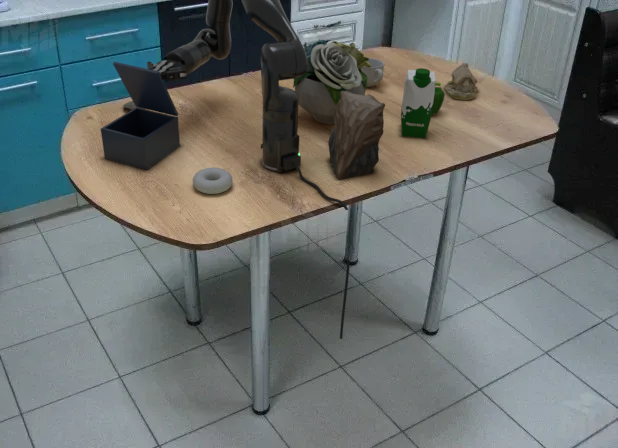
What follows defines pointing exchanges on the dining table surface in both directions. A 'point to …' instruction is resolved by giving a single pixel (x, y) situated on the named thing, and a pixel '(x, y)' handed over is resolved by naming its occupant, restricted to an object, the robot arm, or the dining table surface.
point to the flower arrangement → (330, 77)
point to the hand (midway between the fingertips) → (147, 80)
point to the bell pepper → (437, 99)
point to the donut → (206, 177)
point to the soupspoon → (130, 105)
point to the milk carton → (417, 102)
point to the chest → (140, 138)
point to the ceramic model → (462, 83)
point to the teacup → (373, 72)
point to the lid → (146, 88)
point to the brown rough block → (355, 135)
